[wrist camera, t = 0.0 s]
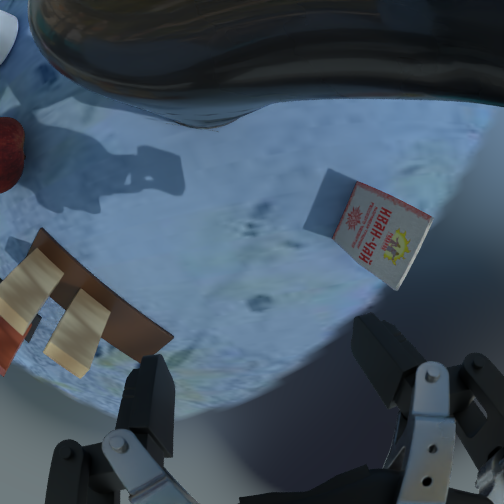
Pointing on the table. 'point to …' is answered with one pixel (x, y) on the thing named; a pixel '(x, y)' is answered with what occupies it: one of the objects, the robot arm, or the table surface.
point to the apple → (11, 152)
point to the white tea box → (382, 233)
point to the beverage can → (7, 33)
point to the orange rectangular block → (9, 344)
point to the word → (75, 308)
